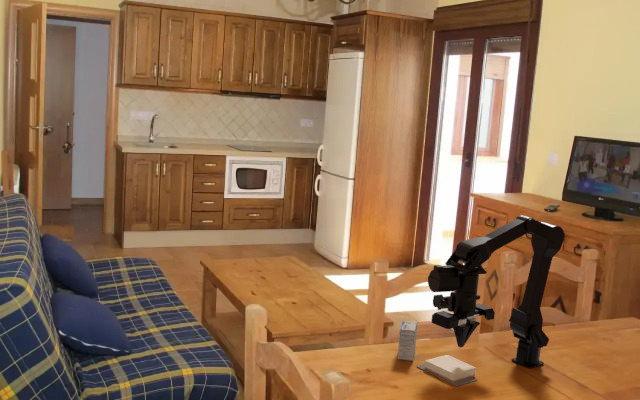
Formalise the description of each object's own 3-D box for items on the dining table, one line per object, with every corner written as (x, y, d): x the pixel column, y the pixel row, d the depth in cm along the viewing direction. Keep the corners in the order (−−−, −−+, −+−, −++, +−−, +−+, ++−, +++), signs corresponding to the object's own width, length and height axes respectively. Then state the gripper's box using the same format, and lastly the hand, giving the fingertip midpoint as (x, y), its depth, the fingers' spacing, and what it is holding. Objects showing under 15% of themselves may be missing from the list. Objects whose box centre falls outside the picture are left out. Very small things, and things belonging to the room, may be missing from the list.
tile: (447, 354, 187) (425, 360, 181) (475, 367, 179) (453, 373, 174) (446, 362, 187) (424, 368, 182) (475, 375, 179) (453, 382, 174)
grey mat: (437, 361, 188) (437, 360, 188) (477, 380, 177) (477, 379, 177) (416, 367, 183) (416, 366, 183) (456, 386, 172) (456, 385, 172)
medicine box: (413, 361, 186) (416, 331, 185) (397, 359, 187) (399, 329, 186) (415, 351, 194) (418, 322, 193) (399, 349, 195) (402, 320, 194)
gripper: (466, 278, 191) (460, 331, 193) (418, 286, 180) (413, 343, 182) (498, 288, 182) (492, 344, 185) (450, 297, 171) (445, 357, 173)
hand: (460, 346), depth 181 cm, fingers closed
